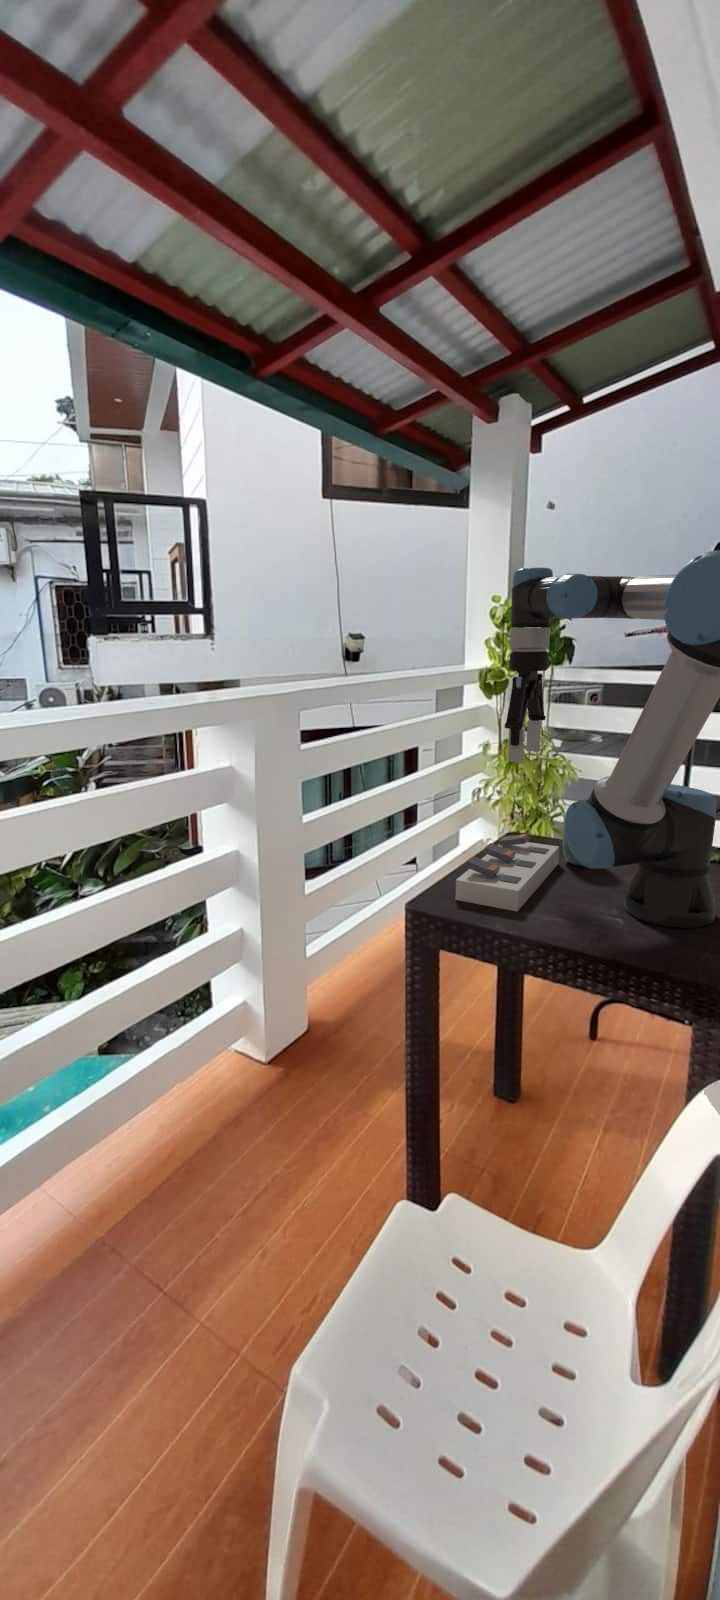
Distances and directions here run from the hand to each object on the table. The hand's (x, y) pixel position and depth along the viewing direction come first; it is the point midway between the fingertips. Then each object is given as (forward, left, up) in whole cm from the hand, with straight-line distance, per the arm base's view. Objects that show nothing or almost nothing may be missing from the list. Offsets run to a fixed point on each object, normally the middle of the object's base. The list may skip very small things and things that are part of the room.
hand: (524, 756), depth 143 cm
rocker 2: (+2, +7, -19) cm, 20 cm away
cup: (-10, -11, -25) cm, 29 cm away
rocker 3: (+2, -3, -19) cm, 19 cm away
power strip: (0, +3, -25) cm, 25 cm away
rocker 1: (+2, +17, -19) cm, 26 cm away
